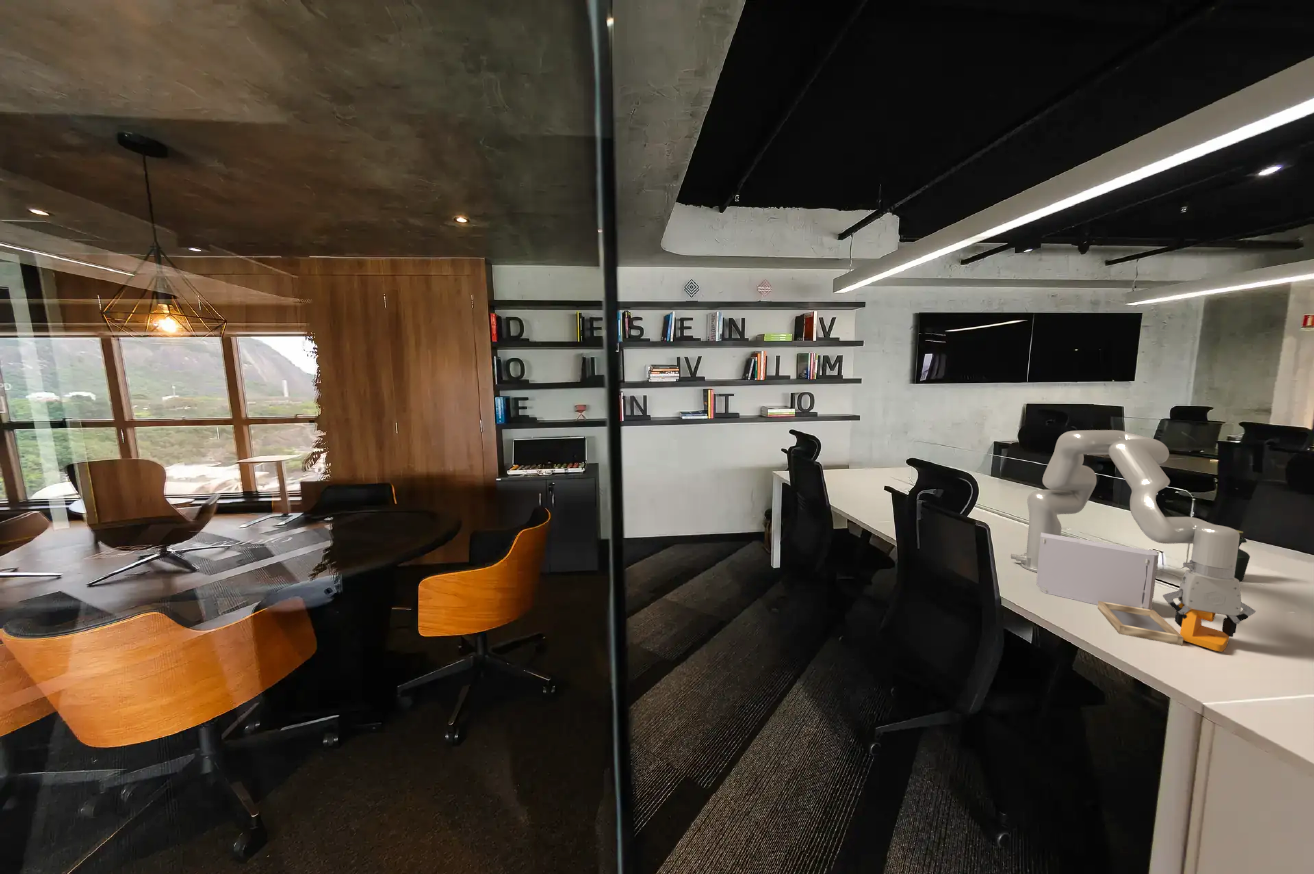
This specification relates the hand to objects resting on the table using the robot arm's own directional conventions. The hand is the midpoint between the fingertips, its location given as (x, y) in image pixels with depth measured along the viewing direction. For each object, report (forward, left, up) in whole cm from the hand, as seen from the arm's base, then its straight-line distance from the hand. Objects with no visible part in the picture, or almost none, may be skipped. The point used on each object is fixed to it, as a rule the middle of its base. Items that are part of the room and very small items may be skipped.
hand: (1203, 629), depth 121 cm
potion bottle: (+31, +63, -4) cm, 70 cm away
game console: (-19, +17, -4) cm, 25 cm away
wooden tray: (-12, +3, -4) cm, 13 cm away
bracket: (0, 0, -4) cm, 4 cm away
